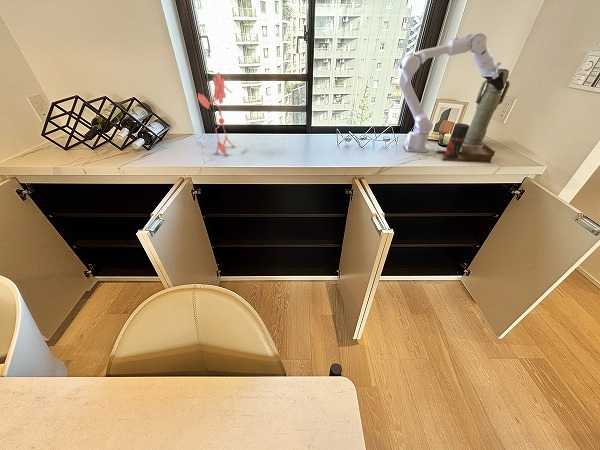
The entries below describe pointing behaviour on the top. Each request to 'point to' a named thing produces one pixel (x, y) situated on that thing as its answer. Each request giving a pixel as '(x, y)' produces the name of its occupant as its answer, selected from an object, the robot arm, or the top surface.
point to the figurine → (219, 96)
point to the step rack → (474, 154)
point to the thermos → (485, 109)
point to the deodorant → (456, 140)
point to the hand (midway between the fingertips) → (498, 87)
